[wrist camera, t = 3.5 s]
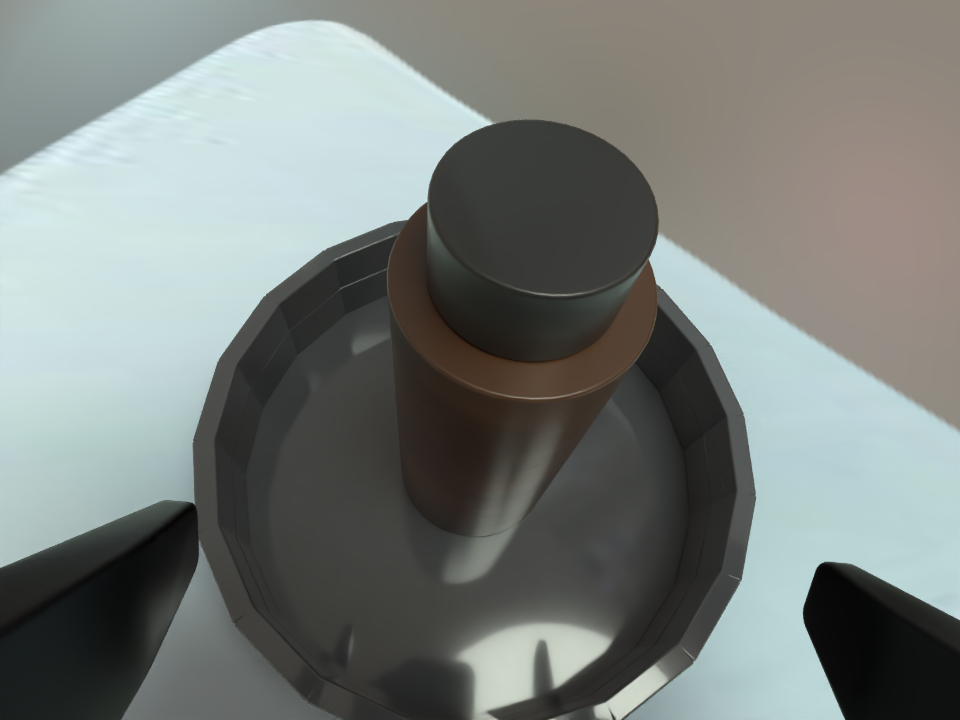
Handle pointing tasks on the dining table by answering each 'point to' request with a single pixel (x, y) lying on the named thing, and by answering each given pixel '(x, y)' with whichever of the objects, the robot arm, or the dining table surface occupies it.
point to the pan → (451, 557)
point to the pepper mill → (515, 315)
